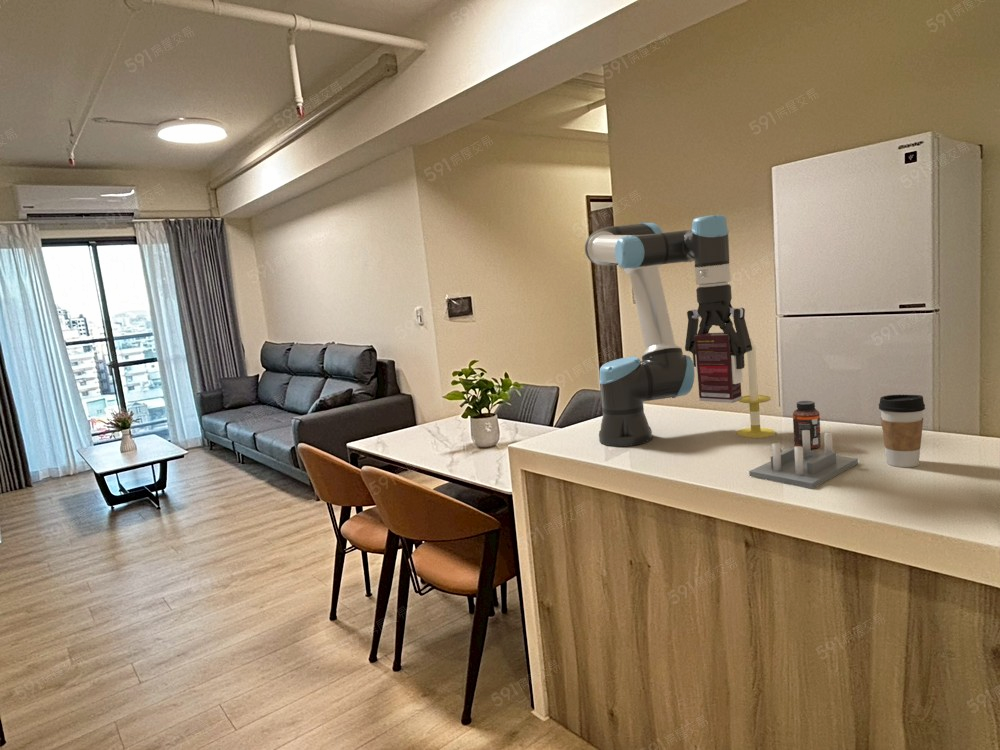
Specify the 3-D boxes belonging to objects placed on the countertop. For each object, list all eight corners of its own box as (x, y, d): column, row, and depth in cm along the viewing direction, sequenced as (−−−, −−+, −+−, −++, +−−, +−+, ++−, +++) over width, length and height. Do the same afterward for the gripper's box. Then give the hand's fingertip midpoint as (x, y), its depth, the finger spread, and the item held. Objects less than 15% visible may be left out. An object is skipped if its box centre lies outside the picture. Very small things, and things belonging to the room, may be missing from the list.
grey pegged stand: (749, 476, 136) (747, 445, 135) (796, 454, 148) (795, 425, 147) (812, 488, 125) (810, 455, 124) (857, 463, 136) (857, 432, 135)
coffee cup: (911, 471, 128) (910, 401, 126) (871, 463, 135) (869, 397, 133) (934, 462, 132) (933, 394, 129) (894, 455, 139) (892, 390, 137)
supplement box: (742, 399, 142) (738, 331, 140) (732, 403, 139) (728, 334, 136) (708, 397, 148) (704, 332, 146) (698, 401, 145) (693, 335, 143)
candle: (739, 438, 165) (733, 340, 161) (734, 429, 175) (728, 336, 171) (779, 436, 163) (774, 336, 159) (771, 427, 173) (766, 333, 169)
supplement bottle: (824, 449, 149) (822, 403, 147) (797, 450, 150) (795, 405, 149) (816, 442, 155) (814, 398, 153) (791, 443, 156) (789, 400, 154)
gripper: (664, 289, 146) (671, 381, 150) (746, 283, 129) (752, 387, 132) (684, 286, 150) (690, 376, 154) (766, 280, 133) (771, 381, 136)
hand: (719, 381), depth 143 cm, fingers closed on supplement box, 9 cm apart
